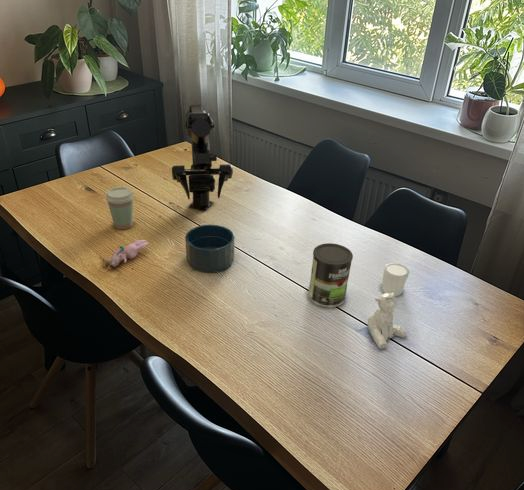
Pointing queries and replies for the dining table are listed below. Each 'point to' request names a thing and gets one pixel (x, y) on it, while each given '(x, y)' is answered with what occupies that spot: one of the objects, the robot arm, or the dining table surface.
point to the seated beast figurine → (384, 321)
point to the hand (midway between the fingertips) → (203, 198)
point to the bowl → (210, 248)
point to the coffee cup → (121, 206)
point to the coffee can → (329, 274)
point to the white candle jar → (394, 278)
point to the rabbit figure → (125, 253)
